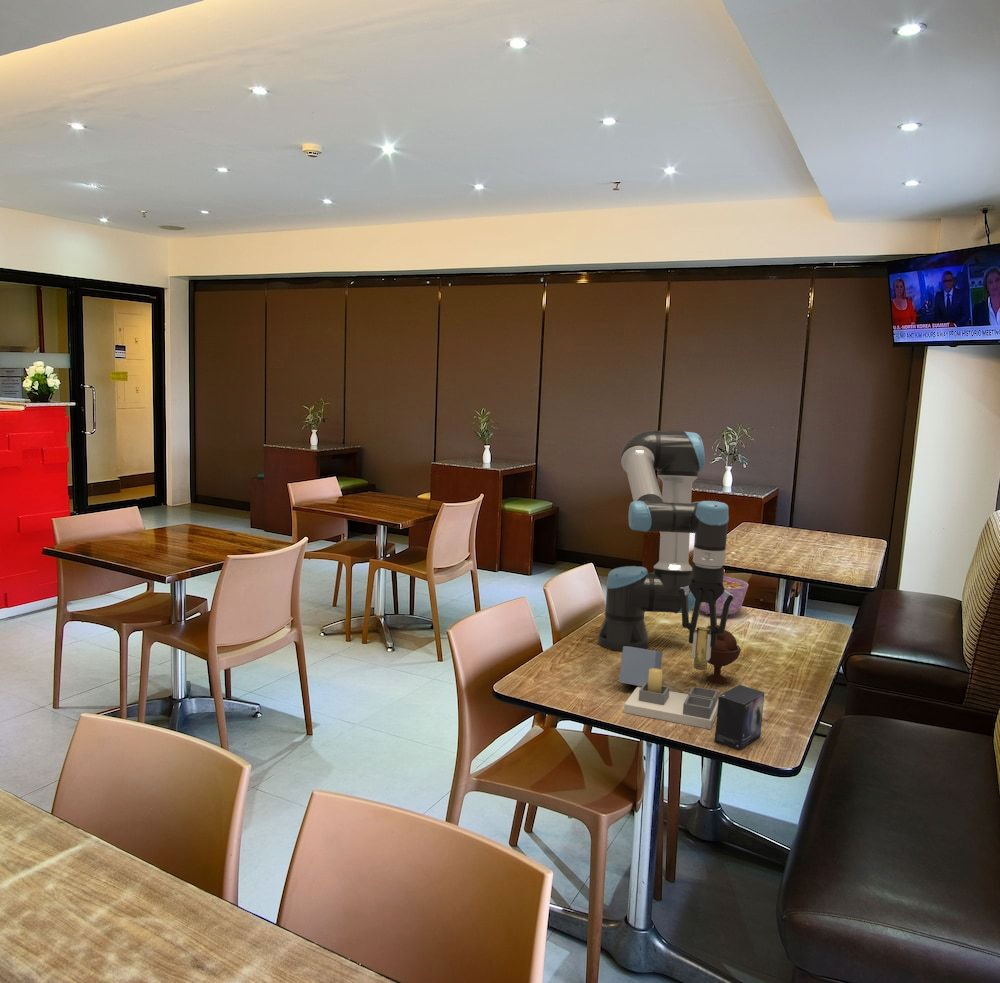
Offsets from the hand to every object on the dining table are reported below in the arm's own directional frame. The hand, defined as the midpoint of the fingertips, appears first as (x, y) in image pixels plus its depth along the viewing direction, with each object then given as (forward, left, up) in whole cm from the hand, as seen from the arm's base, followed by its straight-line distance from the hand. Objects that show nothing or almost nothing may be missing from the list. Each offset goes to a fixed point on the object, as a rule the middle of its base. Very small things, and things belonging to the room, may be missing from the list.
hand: (701, 657), depth 195 cm
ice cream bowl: (+2, +15, -11) cm, 19 cm away
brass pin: (0, 0, -3) cm, 3 cm away
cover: (-15, -2, -9) cm, 18 cm away
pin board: (-4, -12, -10) cm, 16 cm away
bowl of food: (-7, +86, -11) cm, 87 cm away
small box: (+12, -21, -11) cm, 26 cm away
